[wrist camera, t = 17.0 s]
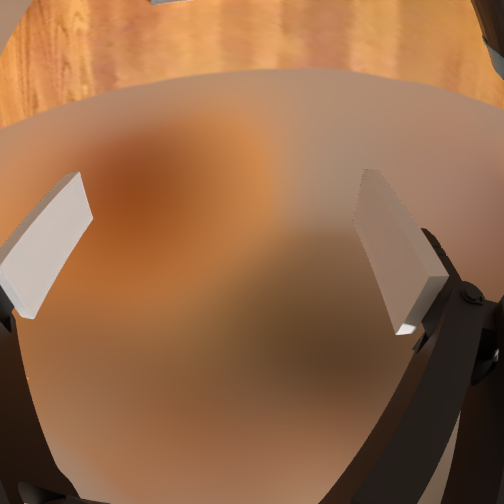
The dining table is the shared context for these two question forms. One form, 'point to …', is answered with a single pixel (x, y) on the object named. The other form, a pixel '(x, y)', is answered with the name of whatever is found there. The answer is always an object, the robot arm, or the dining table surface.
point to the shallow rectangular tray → (165, 1)
